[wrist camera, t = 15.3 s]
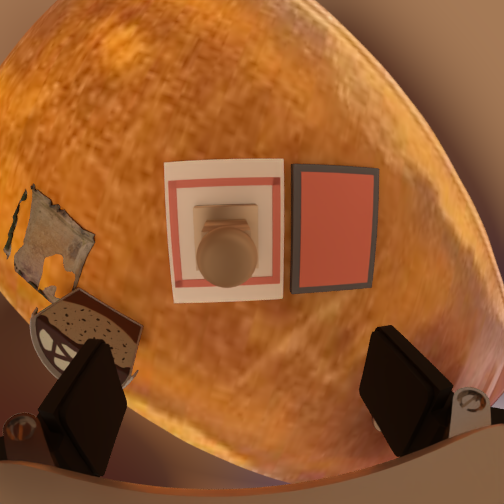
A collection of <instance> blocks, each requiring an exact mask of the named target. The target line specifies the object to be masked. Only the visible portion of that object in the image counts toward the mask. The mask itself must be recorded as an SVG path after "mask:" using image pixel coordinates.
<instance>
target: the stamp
mask: <svg viewBox="0 0 504 504" xmlns="http://www.w3.org/2000/svg"><path fill="white" fill-rule="evenodd" d="M193 225H194V244H195V259H196V271H200V273H201V274H202V276H203V277H204V279H206V280H207V281H208V282H210V283H211V284H213V285H215V286H218V287H222V288H232V287H236V286H239V285H241V284H243V283H244V282H246V281H247V280H248V279H249V278H252V274H253V273H254V271H255V268H259V253H258V205H256V204H220V205H195V206H194V207H193Z"/></svg>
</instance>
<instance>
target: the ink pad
mask: <svg viewBox="0 0 504 504" xmlns="http://www.w3.org/2000/svg"><path fill="white" fill-rule="evenodd" d="M378 201H379V169H378V168H366V167H353V166H336V165H315V164H291V270H290V292H291V293H292V294H300V293H314V292H327V291H340V290H351V289H362V288H372V280H373V272H374V262H375V251H376V238H377V223H378Z"/></svg>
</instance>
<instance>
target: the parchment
mask: <svg viewBox="0 0 504 504" xmlns="http://www.w3.org/2000/svg"><path fill="white" fill-rule="evenodd" d="M31 189H33V190H32V192H33V194H32V205H31V212H30V219H29V223H28V227H27V230H26V235H25V238H24V245H23V246H22V247H21V248H20V249H19V250H18V252H17V253H16V254H15V256H14V266H15V271H16V272H17V273H18V274H19V275H20V276H21V277H23V278H24V279H25V280H26V281H27V282H28V283H29V284H30V285H32V286H33V287H34V288H35V289H36V290H38V286H39V282H40V279H41V275H42V271H43V263H44V259H45V257H49V256H52V255H55V254H60V255H62V256H63V264H64V268H65V270H66V271H69V272H71V271H72V272H73V273H74V274H75V281H74V285H73V288H72V291H74V290H75V289H76V286H77V283H78V280H79V277H80V274H81V270H82V267H83V264H84V262H85V259H86V257H87V255H88V253H89V251H90V250H91V248H92V246H93V245H94V243H95V241H94V236H95V234H92V233H90V232H88V231H85V230H83V229H82V228H81V227H80V226H79V225H78V224H76V223H75V222H74V221H72V218H70V217H69V216H68V214H67V213H66V212H65V210H59V209H60V206H59V205H52V206H51V200H50V199H49V198H47V197H45V196H44V195H43V194H41V193H40V192H39V191H38V190H35V185H34V183H33V186H31ZM26 199H27V191H26V190H25V192H24V194H23V196H22V198H21V200H20V202H21V201H24V200H26ZM20 202H19V204H20ZM19 204H18V207H17V209H16V211H15V213H14V215H13V223H12V226H11V228H10V230H9V233H8V237H9V238H8V240H7V243H6V245H5V247H4V252H5V253H6V255H7V259H8V257H9V255H10V252H11V241H12V237H13V232H14V229H15V227H16V224H17V214H18V212H19V206H20V205H19ZM55 291H56V287H55V286H49V287H47V288H45V289H44V290H43V291H42V290H38V292H39V293H40V294H42V295H43V296H44V297H45V298H46V299H47V300H48V301H50V302H51V303H52V304H53V303H54V302H56V301H58V300H59V298H56V297H55V296H54V295H55Z"/></svg>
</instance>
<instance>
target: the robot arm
mask: <svg viewBox="0 0 504 504" xmlns="http://www.w3.org/2000/svg"><path fill="white" fill-rule="evenodd" d="M452 388H453V385H452V383H451V382H450V381H449V380H448V379H447V378H446V377H445V376H444V375H443V374H442V373H441V372H440V371H439V370H438V369H437V368H436V367H435V366H434V365H433V364H432V363H431V362H430V361H429V360H428V359H427V358H425V357H424V356H423V355H422V354H421V353H420V352H419V351H418V350H417V349H416V348H415V347H414V346H413V345H412V344H411V343H410V342H409V341H408V340H407V339H406V338H405V337H404V336H403V335H402V334H401V333H400V332H399V331H398V330H396V329H395V328H394V327H393V326H392V325H388V326H381V327H377V328H376V329H375V331H374V332H372V334H371V337H370V342H369V347H368V352H367V357H366V362H365V366H364V371H363V375H362V379H361V383H360V388H359V392H360V396H361V398H362V399H363V401H364V403H365V404H366V406H367V408H368V410H369V411H370V413H371V415H372V416H373V418H372V421H373V425H374V426H375V428H376V429H377V430H378V431H380V432H382V433H383V435H384V437H385V439H386V440H387V442H388V444H389V445H390V447H391V449H392V451H393V452H394V454H395V455H396V456H397V457H399V456H400V457H399V458H396V459H394V460H391V461H388V462H385V463H382V464H378V465H375V466H372V467H368V468H365V469H361V470H358V471H354V472H350V473H346V474H342V475H337V476H333V477H328V478H323V479H318V480H313V481H307V482H301V483H294V484H288V485H279V486H271V487H260V488H245V489H181V488H167V487H157V486H148V485H140V484H133V483H127V482H121V481H115V480H110V479H105V478H100V476H103V475H104V474H105V471H106V468H107V464H108V461H109V458H110V455H111V452H112V449H113V446H114V443H115V440H116V437H117V434H118V431H119V428H120V425H121V422H122V420H123V416H124V414H125V411H126V408H127V401H126V397H125V394H124V391H123V388H122V385H121V382H120V379H119V376H118V373H117V369H116V366H115V362H114V359H113V355H112V352H111V348H110V345H109V344H106V342H105V341H104V340H103V339H91V338H89V339H87V341H86V342H85V343H84V345H83V346H82V347H81V349H80V350H79V351H78V353H77V354H76V355H75V357H74V358H73V359H72V361H71V362H70V363H69V365H68V366H67V368H66V369H65V370H64V372H63V373H62V375H61V376H60V377H59V379H58V380H57V382H56V383H55V385H54V386H53V388H52V389H51V391H50V392H49V393H48V395H47V396H46V398H45V399H44V401H43V402H42V404H41V405H40V407H39V408H38V411H39V414H38V415H37V417H36V416H35V415H33V414H30V413H18V414H16V415H13V416H12V417H11V418H9V419H8V420H7V421H6V422H5V424H4V427H3V436H2V437H0V504H504V409H499V408H493V407H490V401H489V398H488V397H487V395H486V394H485V393H484V392H482V391H481V390H479V389H476V388H472V387H464V388H461V389H459V390H457V391H456V392H455V393H453V392H452V391H451V390H452Z"/></svg>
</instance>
